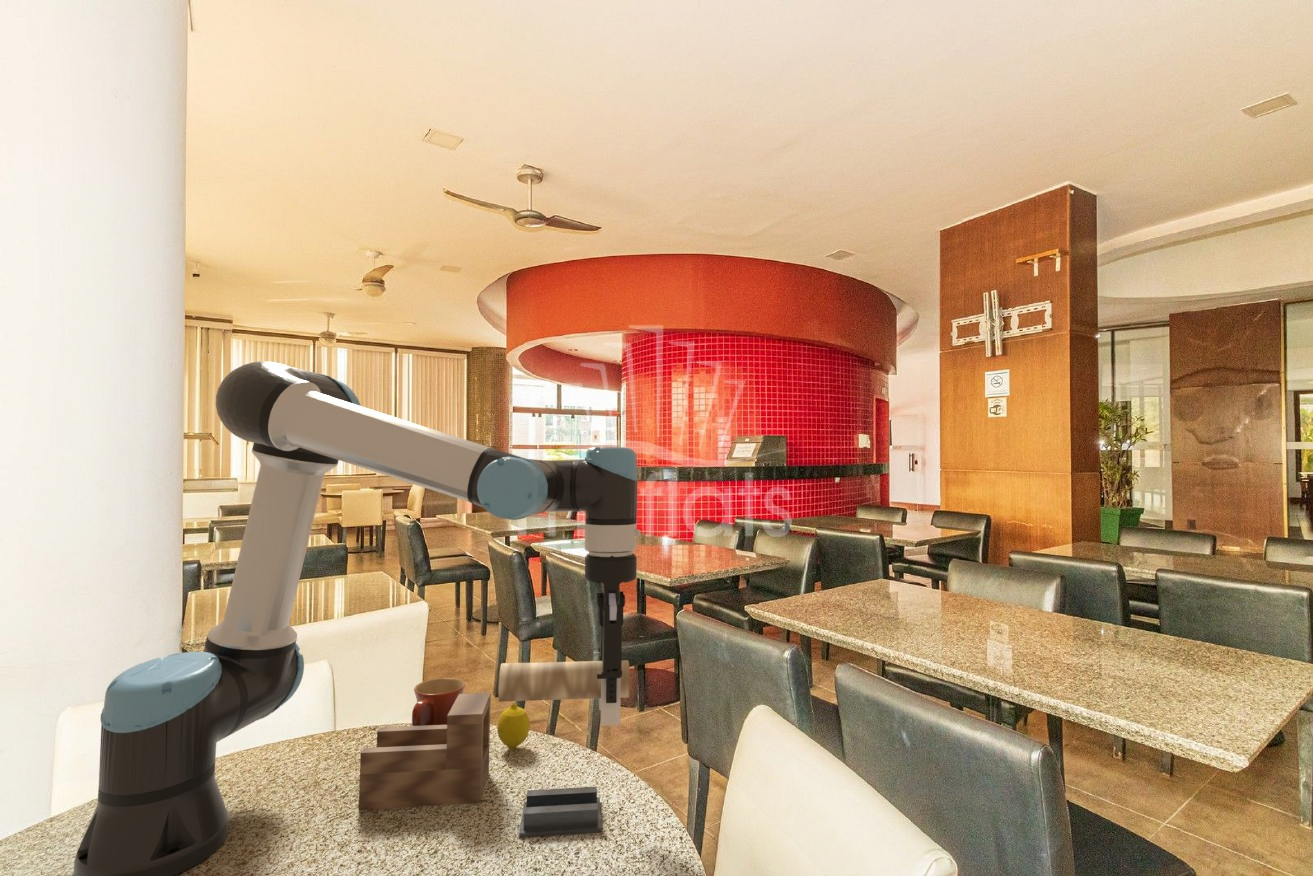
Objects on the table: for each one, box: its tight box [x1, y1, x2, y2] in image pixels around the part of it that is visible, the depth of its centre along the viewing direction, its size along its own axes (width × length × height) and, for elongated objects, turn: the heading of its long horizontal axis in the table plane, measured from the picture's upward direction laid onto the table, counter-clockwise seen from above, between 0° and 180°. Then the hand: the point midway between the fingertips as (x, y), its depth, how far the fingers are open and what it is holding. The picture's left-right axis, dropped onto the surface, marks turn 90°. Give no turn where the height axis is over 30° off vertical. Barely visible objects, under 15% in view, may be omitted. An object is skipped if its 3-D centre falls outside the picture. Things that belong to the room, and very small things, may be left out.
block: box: [358, 692, 492, 811], centre depth 94 cm, size 17×9×13 cm, turn 97°
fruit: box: [496, 702, 531, 751], centre depth 108 cm, size 6×6×8 cm
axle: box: [497, 659, 631, 703], centre depth 87 cm, size 18×5×5 cm, turn 98°
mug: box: [411, 677, 466, 726], centre depth 108 cm, size 12×9×10 cm
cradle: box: [518, 786, 603, 839], centre depth 86 cm, size 11×8×3 cm
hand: (609, 716), depth 88 cm, fingers closed on axle, 5 cm apart
